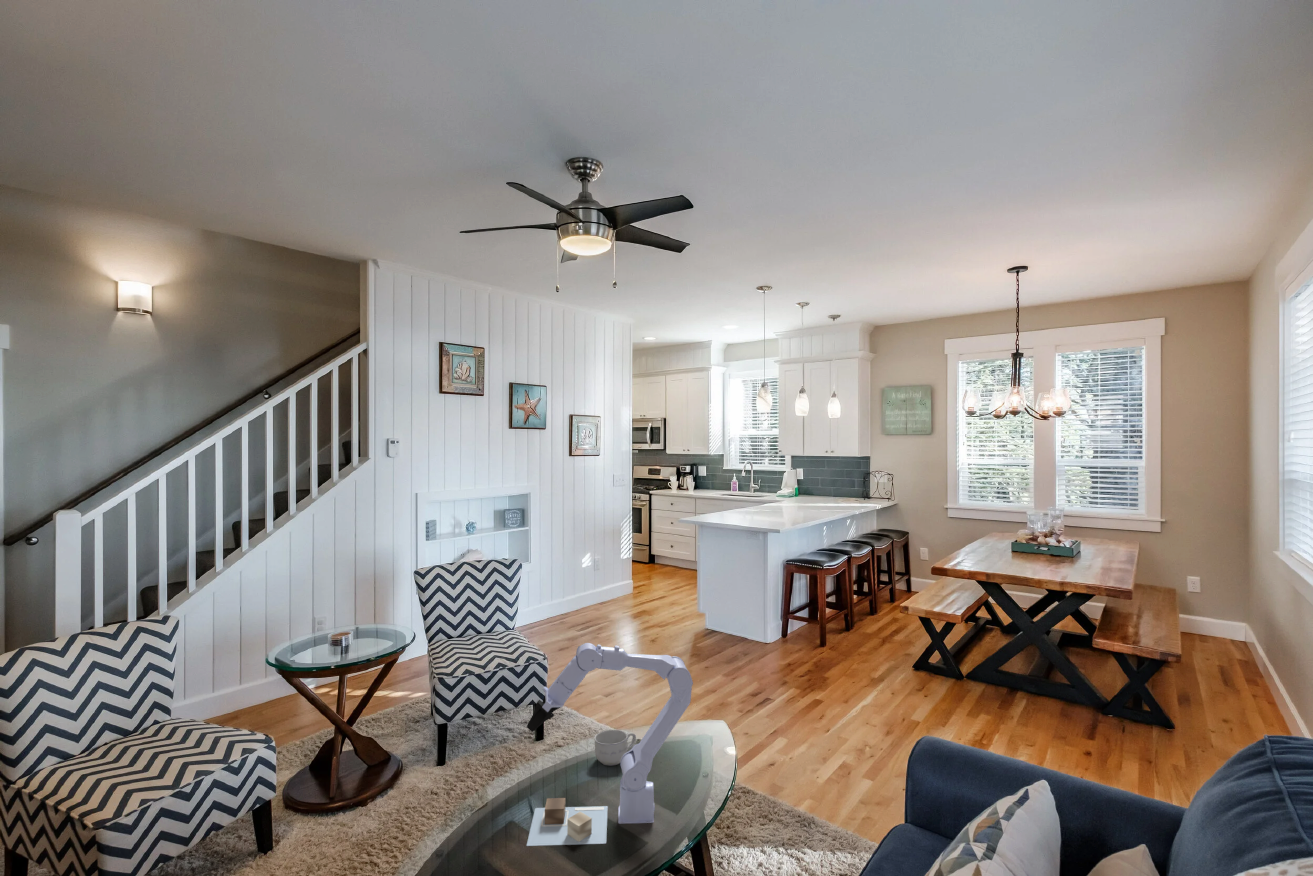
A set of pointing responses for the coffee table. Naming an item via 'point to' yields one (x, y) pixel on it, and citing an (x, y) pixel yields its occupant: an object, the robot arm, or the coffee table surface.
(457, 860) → the coffee table surface
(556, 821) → the walnut base
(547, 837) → the board
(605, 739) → the teacup
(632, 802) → the robot arm
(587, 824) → the maple block
